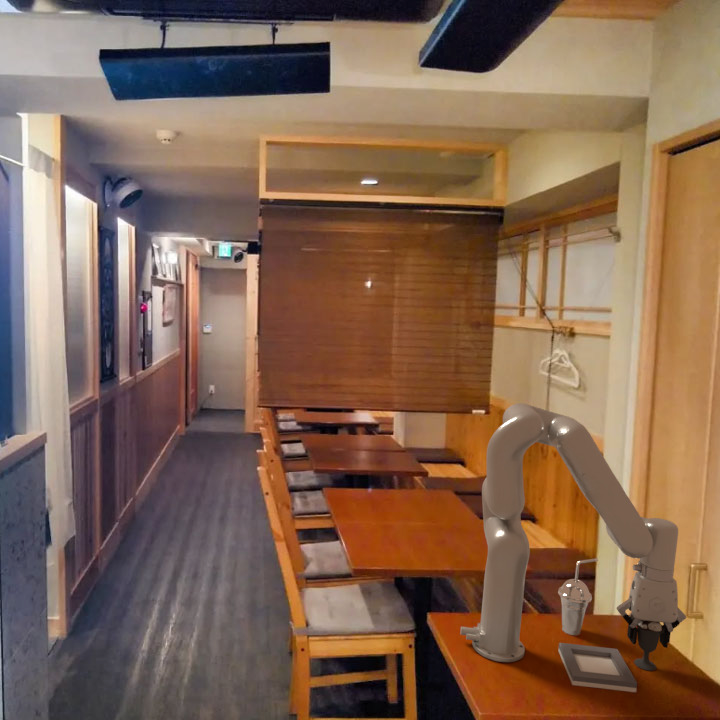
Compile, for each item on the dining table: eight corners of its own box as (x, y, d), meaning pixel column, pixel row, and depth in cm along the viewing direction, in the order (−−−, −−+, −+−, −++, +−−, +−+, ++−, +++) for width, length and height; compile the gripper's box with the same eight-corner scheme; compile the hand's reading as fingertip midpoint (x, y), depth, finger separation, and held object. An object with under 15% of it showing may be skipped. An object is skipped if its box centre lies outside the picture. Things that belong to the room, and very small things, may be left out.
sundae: (663, 675, 149) (670, 614, 148) (633, 670, 150) (639, 609, 149) (656, 659, 155) (662, 601, 154) (627, 655, 157) (633, 597, 155)
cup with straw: (555, 619, 173) (562, 548, 171) (590, 627, 169) (598, 555, 167) (553, 634, 165) (560, 560, 163) (589, 643, 161) (597, 567, 160)
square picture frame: (572, 684, 143) (573, 675, 142) (558, 651, 157) (559, 642, 156) (636, 692, 142) (637, 683, 141) (616, 657, 155) (617, 649, 155)
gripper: (623, 574, 148) (615, 647, 149) (700, 582, 146) (691, 655, 148) (613, 561, 155) (606, 631, 157) (686, 568, 154) (678, 638, 155)
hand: (647, 642), depth 152 cm, fingers closed on sundae, 6 cm apart
